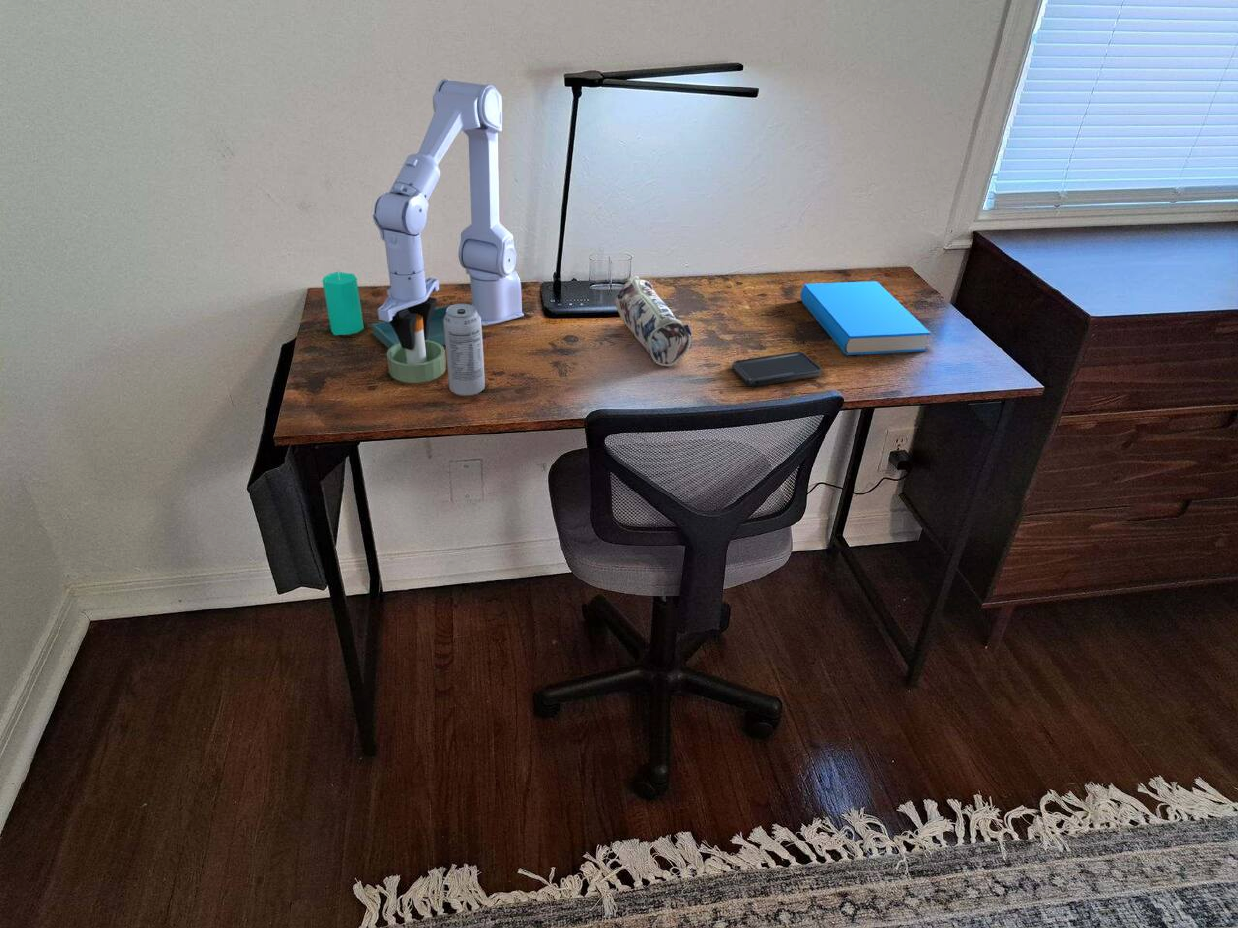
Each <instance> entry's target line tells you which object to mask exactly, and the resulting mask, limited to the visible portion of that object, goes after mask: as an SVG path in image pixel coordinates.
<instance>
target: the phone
mask: <svg viewBox="0 0 1238 928" xmlns="http://www.w3.org/2000/svg"><path fill="white" fill-rule="evenodd" d="M822 368H823V367H821V366H820V365H819V364H818V363H816V362H815V361H814V360H813V359H812V358H811V357H810V356H809V355H808V354H806V353H805V352H802V351H793V352H787V353H780V354H773V355H766V356H760V357H751V358H746V359H740V360H739V359H737V360H734V361H733V362H732V366H731V370H732V371H733V372H734V373H735V374H736V375H737V376H738V377H739V378H740V379H741V380H742V381H743V382H744V383H745V385H747V386H748V387H760V386H765V385H766V386H767V385H772V384H773V385H774V384H779V383H785V382H792V381H797V380H803V379H810V378H818V377H820V376H821V374H822V370H823V369H822Z"/></svg>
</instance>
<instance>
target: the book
mask: <svg viewBox="0 0 1238 928" xmlns="http://www.w3.org/2000/svg"><path fill="white" fill-rule="evenodd" d="M800 299H801V300H800V301H801V302H802V304H803V305H804V306H805V308H807V310H808V312H809V313H810V314H811V315H812V316H813V317H814V319H815V320H816V321H817V322H818V323H819V324H820V326H821V327H822V328H823V329H824V331H825V332H826V333H827V334H828V335H829V336H830V338H831V339H832V341H834V342H835V344H836V345H837V346H838V347H839V349H840V350H841V351H842V352H843V354H844V355H845V356H853V355H854V356H855V355H856V356H857V355H873V354H874V355H875V354H877V355H878V354H895V353H896V354H897V353H910V352H911V353H914V352H926V351H927V348H926V345H927V342H928V338H929V336H931V333H932V332H931V331H930V330H928V328H926V327H925V326H924V325H923V324H922V323H921V322H920V320H918V319H917V318H916V317H915V316H914V315H913V314H912V313H911V312H910V311H909V310H908V309H906V307H904V306H903V304H901V303H900V301H898V300H897V299H896V298H895V297H894V296H893V295H892V294H891V293H890V292H889V291H888V290H887V289H886V288H885V287H884V286H883V285H881V283H879V282H878V281H876V280H874V281H872V280H871V281H850V282H849V281H848V282H847V281H846V282H818V283H815V282H814V283H804V284H803V286H802V288H801V289H800Z"/></svg>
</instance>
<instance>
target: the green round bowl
mask: <svg viewBox="0 0 1238 928" xmlns="http://www.w3.org/2000/svg"><path fill="white" fill-rule="evenodd" d="M425 349H426V358H427V362H426V363H421V364H407V359H406V351H405V348H402V346H401V344H400V343H397V344H395V345H393V346H392V347H391V348H387V351H386V362H387V368H388V374H389V376H390V377H391V378H392V379H395V381H399V382H402V383H410V384H418V383H427V382H431V381H434V380H435V379H438V378H439V377H441V376H443V375H444V373H445V372H446V369H447V359H446V350H445V348H444V346H443V345H440V344H439V343H436V342H434V341H430V340H425Z"/></svg>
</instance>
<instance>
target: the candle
mask: <svg viewBox="0 0 1238 928" xmlns="http://www.w3.org/2000/svg"><path fill="white" fill-rule="evenodd" d="M322 286H323V291H324V296H325V298H324V299H325V303H326V310H327V315H328V320H329V321H328V322H329V326H330V331H331V333H332V335H334V336H339V335H340V336H341V335H345V336H346V335H353V334H357V333H359V332H360V331H362V330H364V329H365V326H364V320H363V312H362V306H361V299H360V293H359V285H358V278H357V276H356V275H355V274H354V273H348V272H347V273H346V272H342V271H339V269H337V271H336V272H335V271H334V272H333V273H328V274H327V275H325V276H324V277H323V278H322Z"/></svg>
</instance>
